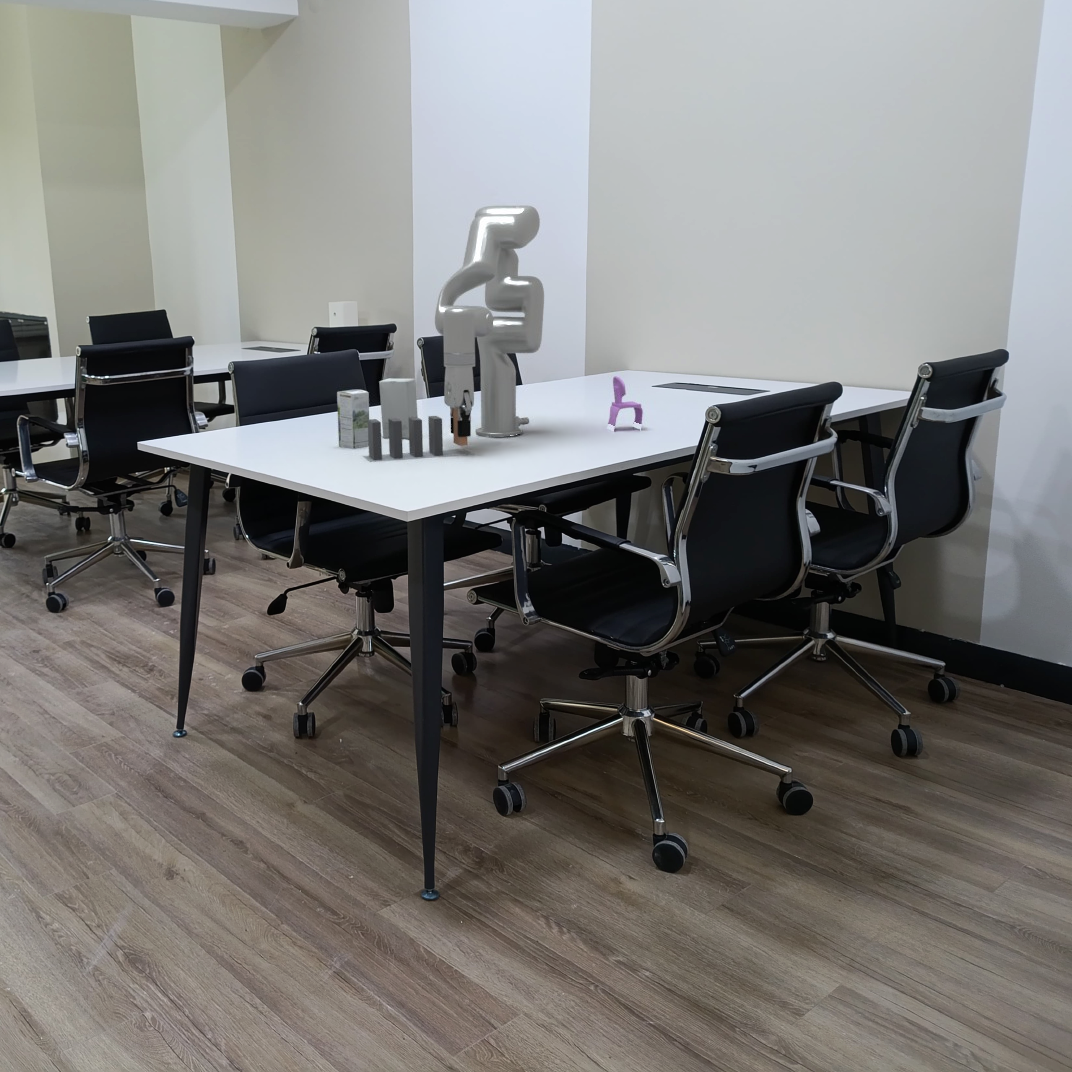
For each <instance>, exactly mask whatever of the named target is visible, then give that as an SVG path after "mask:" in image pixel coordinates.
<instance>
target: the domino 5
mask: <svg viewBox="0 0 1072 1072" xmlns="http://www.w3.org/2000/svg"><path fill="white" fill-rule="evenodd" d="M460 407H461V406H460ZM461 411H462V412H463V410H461ZM458 420H459V416H458V407H457V408H456V409H455V408H453V430H454V433H453V434H452V435H453V444H455V445H457V446H458V447H463V446H466V447H467V446H468V437H458V425H457V421H458Z"/></svg>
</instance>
